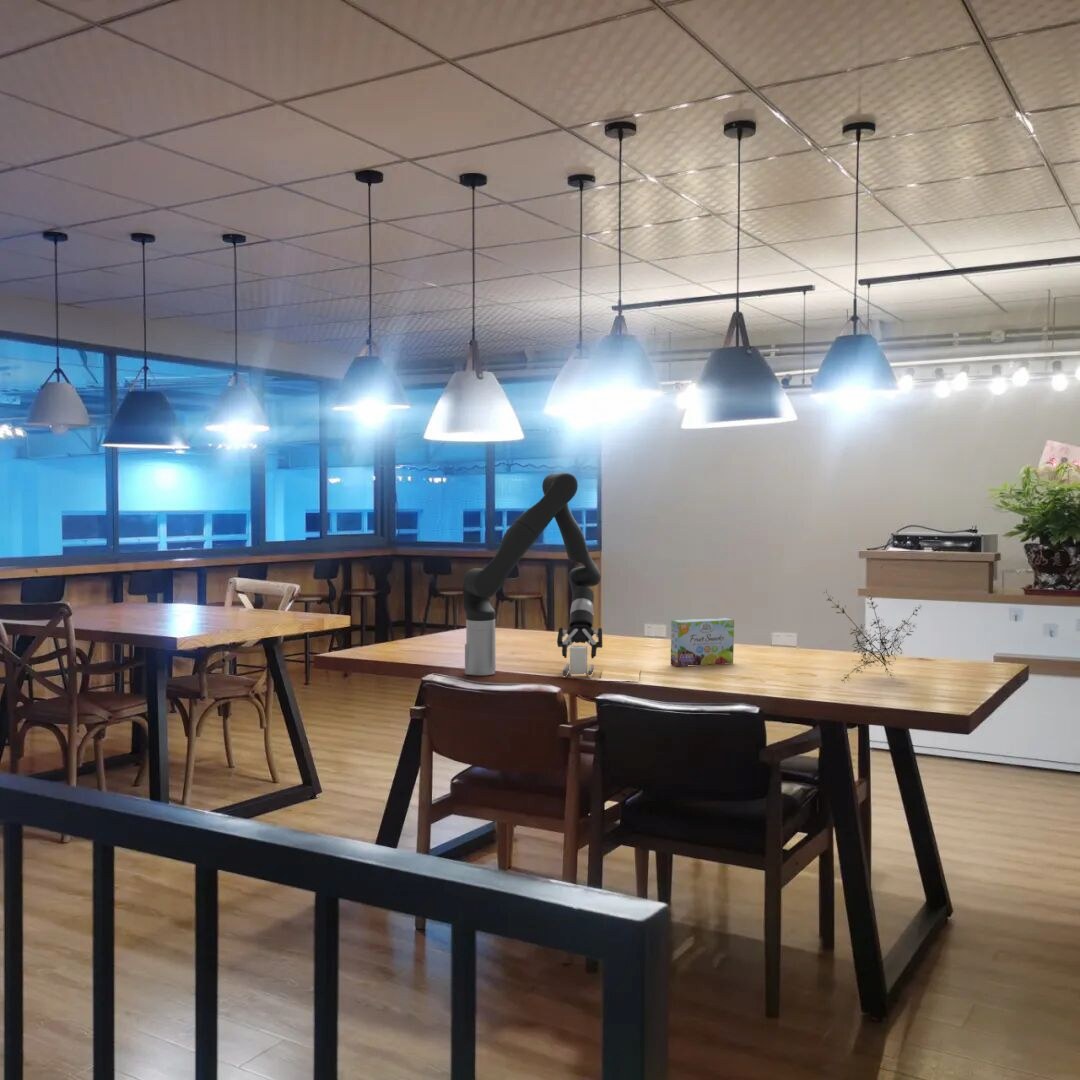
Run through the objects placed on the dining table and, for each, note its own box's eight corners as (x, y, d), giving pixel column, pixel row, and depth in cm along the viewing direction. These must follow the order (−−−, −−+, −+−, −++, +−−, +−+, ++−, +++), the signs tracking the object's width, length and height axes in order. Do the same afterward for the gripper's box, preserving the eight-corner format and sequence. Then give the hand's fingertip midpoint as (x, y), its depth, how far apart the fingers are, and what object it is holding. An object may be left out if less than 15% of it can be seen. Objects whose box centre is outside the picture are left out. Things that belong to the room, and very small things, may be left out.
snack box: (678, 667, 345) (678, 621, 344) (670, 665, 350) (670, 619, 350) (734, 663, 353) (734, 618, 352) (725, 661, 358) (725, 616, 358)
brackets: (563, 678, 325) (563, 670, 325) (566, 671, 337) (566, 664, 337) (590, 679, 324) (590, 670, 324) (593, 672, 336) (593, 664, 336)
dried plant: (851, 614, 342) (820, 564, 305) (952, 628, 326) (932, 578, 289) (832, 704, 333) (797, 665, 297) (935, 724, 317) (912, 684, 281)
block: (569, 676, 328) (569, 647, 328) (571, 674, 333) (571, 645, 333) (586, 677, 328) (585, 648, 327) (587, 674, 333) (587, 645, 332)
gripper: (558, 608, 340) (555, 649, 329) (603, 608, 338) (601, 649, 327) (560, 622, 345) (557, 663, 334) (604, 623, 343) (602, 664, 332)
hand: (578, 656), depth 331 cm, fingers open, 8 cm apart
